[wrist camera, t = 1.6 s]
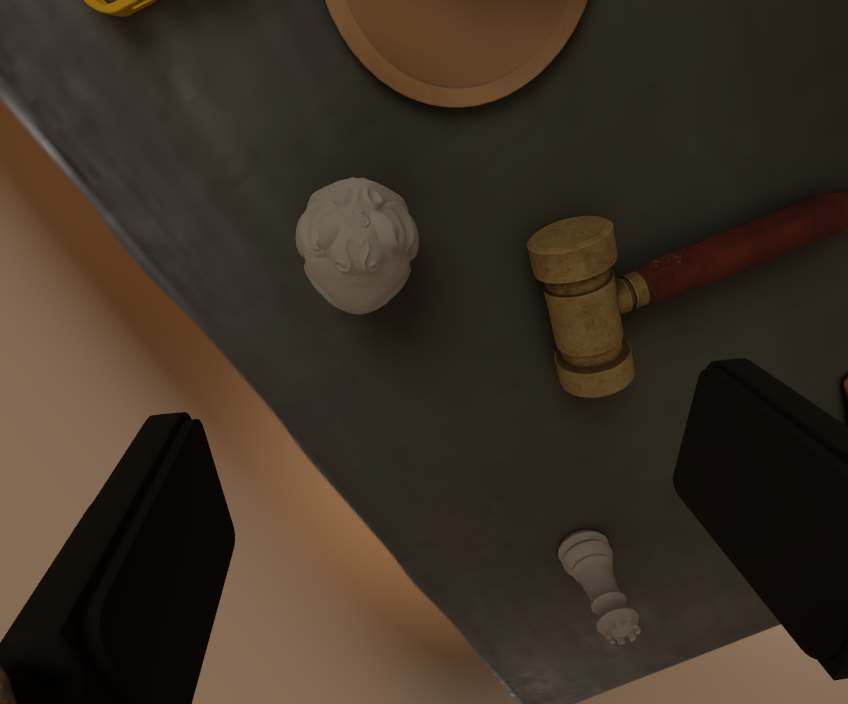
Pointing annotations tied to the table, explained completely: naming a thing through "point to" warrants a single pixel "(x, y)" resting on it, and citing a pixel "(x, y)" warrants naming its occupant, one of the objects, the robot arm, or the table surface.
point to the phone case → (119, 6)
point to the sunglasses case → (845, 391)
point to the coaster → (455, 44)
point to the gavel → (649, 281)
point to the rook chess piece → (599, 583)
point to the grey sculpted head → (357, 244)
